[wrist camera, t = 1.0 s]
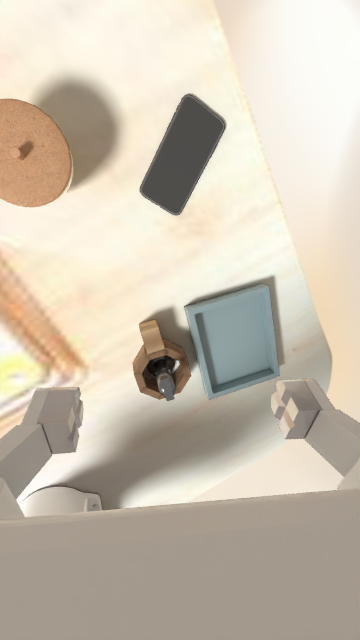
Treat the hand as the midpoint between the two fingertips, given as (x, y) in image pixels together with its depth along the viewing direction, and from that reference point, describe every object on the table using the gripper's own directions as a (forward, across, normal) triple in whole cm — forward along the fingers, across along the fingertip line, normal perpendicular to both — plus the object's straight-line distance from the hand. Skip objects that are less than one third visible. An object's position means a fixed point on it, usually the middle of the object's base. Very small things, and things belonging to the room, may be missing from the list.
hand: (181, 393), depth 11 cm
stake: (+31, +1, -27) cm, 41 cm away
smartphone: (+40, +4, +5) cm, 41 cm away
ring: (+31, +1, -25) cm, 40 cm away
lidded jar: (+38, -16, +3) cm, 41 cm away
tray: (+33, +15, -24) cm, 43 cm away
